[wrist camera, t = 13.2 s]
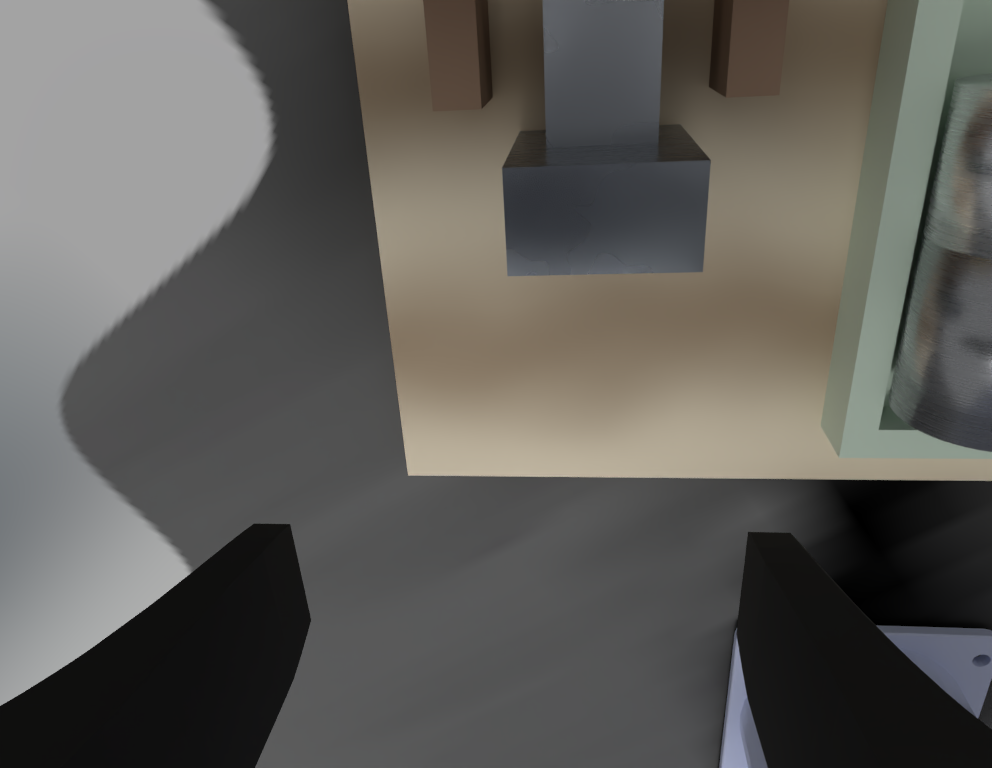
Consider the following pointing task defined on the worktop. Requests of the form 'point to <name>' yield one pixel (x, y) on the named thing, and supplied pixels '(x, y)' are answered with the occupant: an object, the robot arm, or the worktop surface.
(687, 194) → the grey stepped block
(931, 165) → the tray
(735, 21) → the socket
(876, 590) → the worktop surface
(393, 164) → the board
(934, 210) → the grey cylinder
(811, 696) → the robot arm
